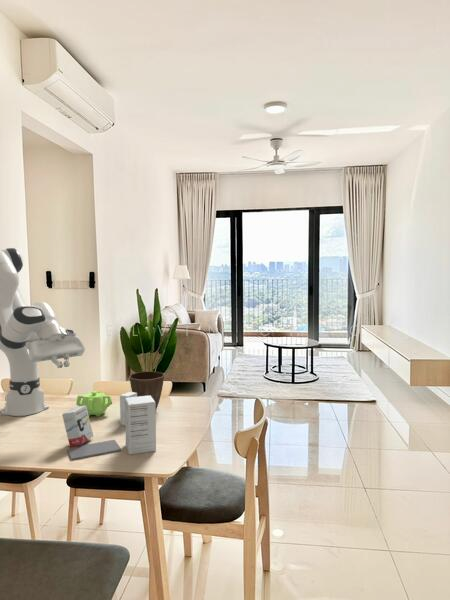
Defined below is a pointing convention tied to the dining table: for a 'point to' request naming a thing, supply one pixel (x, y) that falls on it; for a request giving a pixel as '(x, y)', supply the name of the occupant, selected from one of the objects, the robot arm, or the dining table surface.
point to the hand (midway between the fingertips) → (64, 366)
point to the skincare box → (122, 405)
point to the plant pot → (147, 384)
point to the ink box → (77, 425)
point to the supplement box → (140, 424)
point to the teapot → (95, 402)
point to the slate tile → (93, 449)
